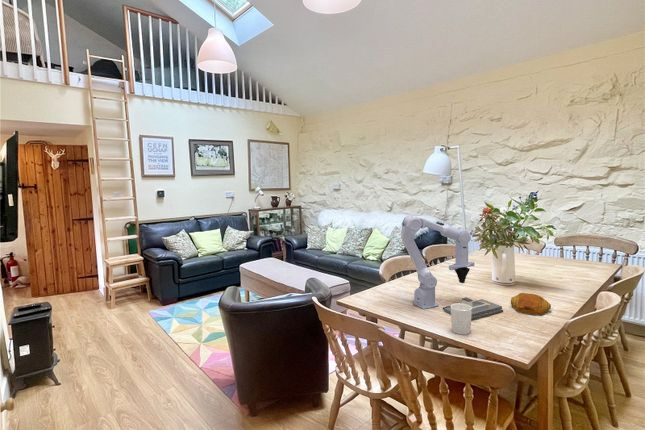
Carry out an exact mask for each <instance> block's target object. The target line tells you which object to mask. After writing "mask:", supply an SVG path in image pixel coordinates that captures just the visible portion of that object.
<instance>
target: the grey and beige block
mask: <svg viewBox="0 0 645 430" xmlns="http://www.w3.org/2000/svg"><path fill="white" fill-rule="evenodd" d="M473 300H474V299H472V298H469V297H462V298H461V303H462V304H466V305H469V306H471V307H472V301H473Z"/></svg>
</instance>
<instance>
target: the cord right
mask: <svg viewBox="0 0 645 430" xmlns="http://www.w3.org/2000/svg"><path fill="white" fill-rule="evenodd" d="M503 312H504V309H502V310H498V311H494V312H491V313H487V314H483V315H480V316H476V317H472V318H471V322H472V321H475V320H479V319H481V318H485V317H489V316H492V315H495V314H496V315H497V314H500V313H503Z"/></svg>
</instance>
